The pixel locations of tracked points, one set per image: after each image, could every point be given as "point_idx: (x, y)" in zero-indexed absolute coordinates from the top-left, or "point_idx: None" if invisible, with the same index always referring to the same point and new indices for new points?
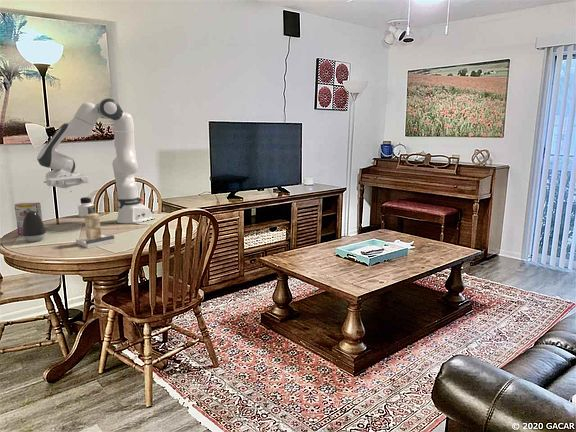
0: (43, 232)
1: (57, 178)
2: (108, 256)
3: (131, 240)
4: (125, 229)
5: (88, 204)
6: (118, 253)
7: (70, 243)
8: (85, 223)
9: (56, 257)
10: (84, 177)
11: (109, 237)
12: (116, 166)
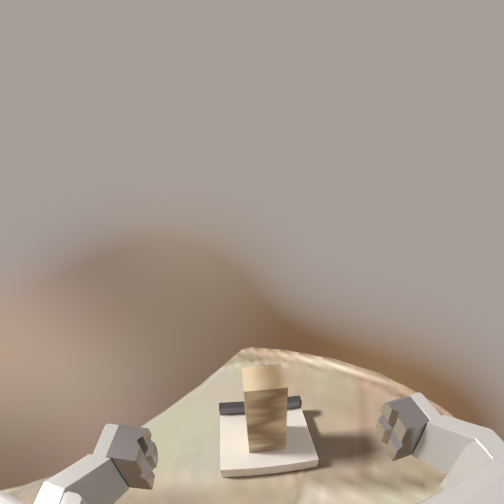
0: None
1: None
2: (278, 352)
3: (178, 409)
4: None
5: None
6: (256, 357)
7: (334, 474)
8: (286, 410)
9: (371, 381)
10: (1, 492)
11: (233, 403)
12: None
